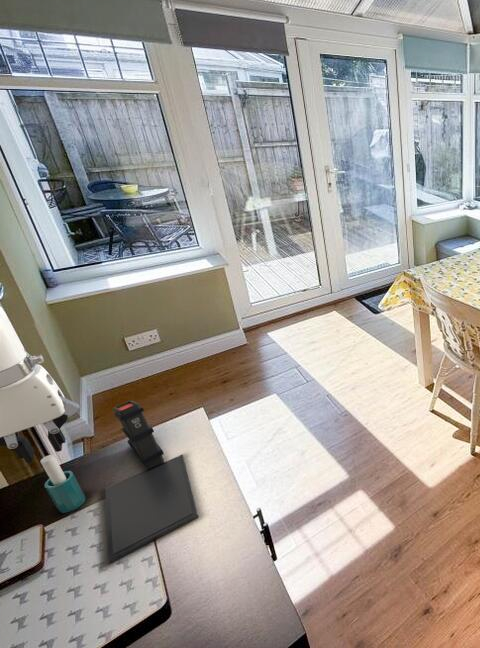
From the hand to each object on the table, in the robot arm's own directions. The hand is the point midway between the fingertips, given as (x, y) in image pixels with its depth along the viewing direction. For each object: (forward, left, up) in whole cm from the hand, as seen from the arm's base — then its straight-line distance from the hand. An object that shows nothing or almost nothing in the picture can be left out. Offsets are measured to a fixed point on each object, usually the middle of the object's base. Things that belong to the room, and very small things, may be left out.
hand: (45, 451), depth 77 cm
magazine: (+12, +6, -14) cm, 20 cm away
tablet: (+11, -10, -14) cm, 21 cm away
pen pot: (0, 0, -14) cm, 14 cm away
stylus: (0, 0, -14) cm, 14 cm away
